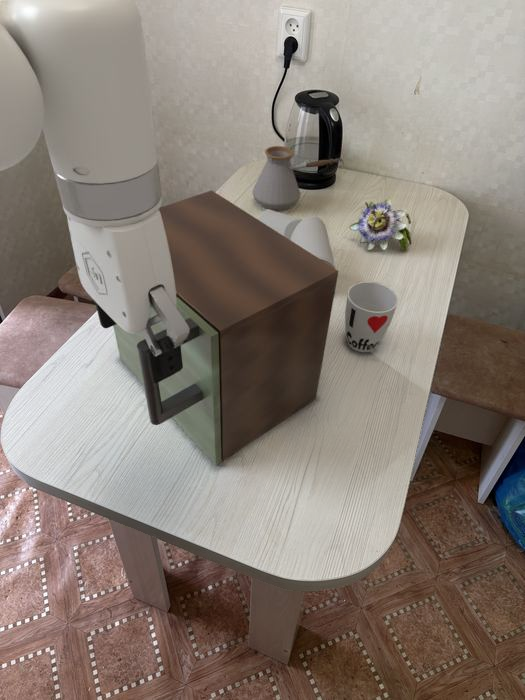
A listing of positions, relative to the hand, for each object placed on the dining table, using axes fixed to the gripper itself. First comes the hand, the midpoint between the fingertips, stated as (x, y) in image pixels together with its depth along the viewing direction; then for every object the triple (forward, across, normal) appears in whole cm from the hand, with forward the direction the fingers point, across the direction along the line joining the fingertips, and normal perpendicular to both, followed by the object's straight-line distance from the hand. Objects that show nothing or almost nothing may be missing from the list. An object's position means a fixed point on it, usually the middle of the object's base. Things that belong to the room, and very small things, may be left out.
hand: (140, 347), depth 50 cm
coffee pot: (+25, -43, +64) cm, 81 cm away
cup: (+25, -1, +41) cm, 48 cm away
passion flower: (+25, -21, +69) cm, 76 cm away
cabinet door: (+24, -10, +3) cm, 26 cm away
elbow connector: (+25, -25, +47) cm, 59 cm away
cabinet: (+24, -10, +16) cm, 31 cm away
